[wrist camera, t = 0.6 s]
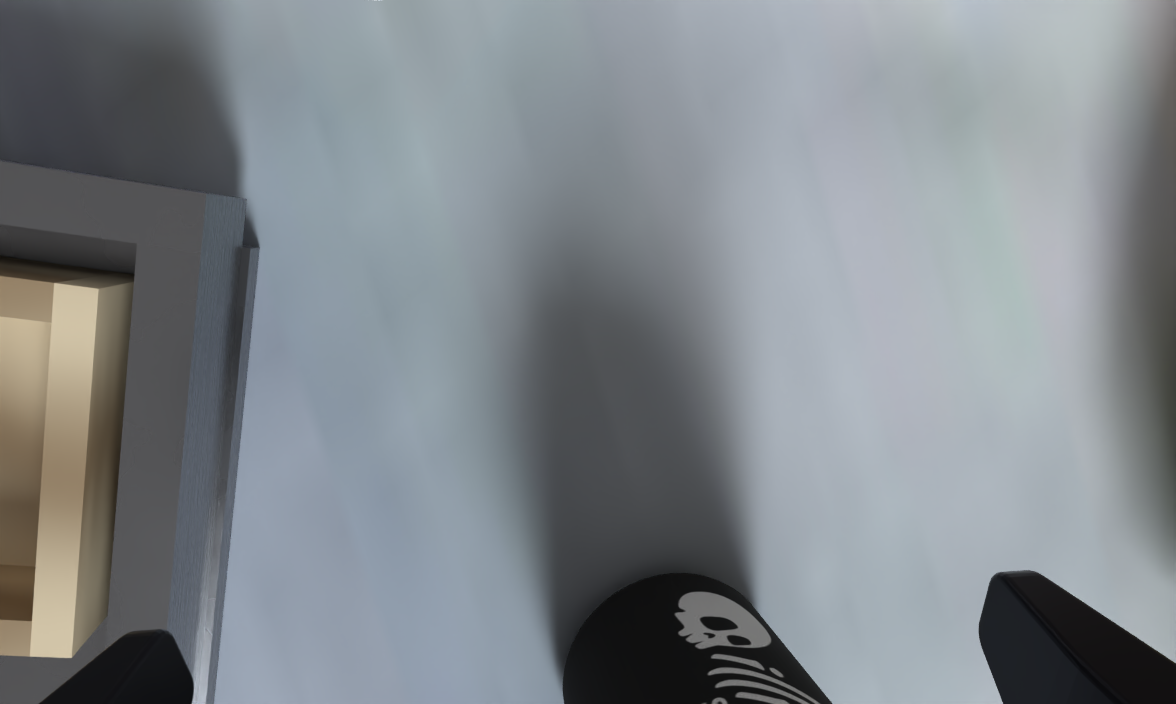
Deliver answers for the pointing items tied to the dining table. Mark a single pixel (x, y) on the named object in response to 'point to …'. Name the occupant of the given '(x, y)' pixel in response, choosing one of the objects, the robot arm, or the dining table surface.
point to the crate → (59, 449)
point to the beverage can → (682, 649)
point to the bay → (154, 398)
